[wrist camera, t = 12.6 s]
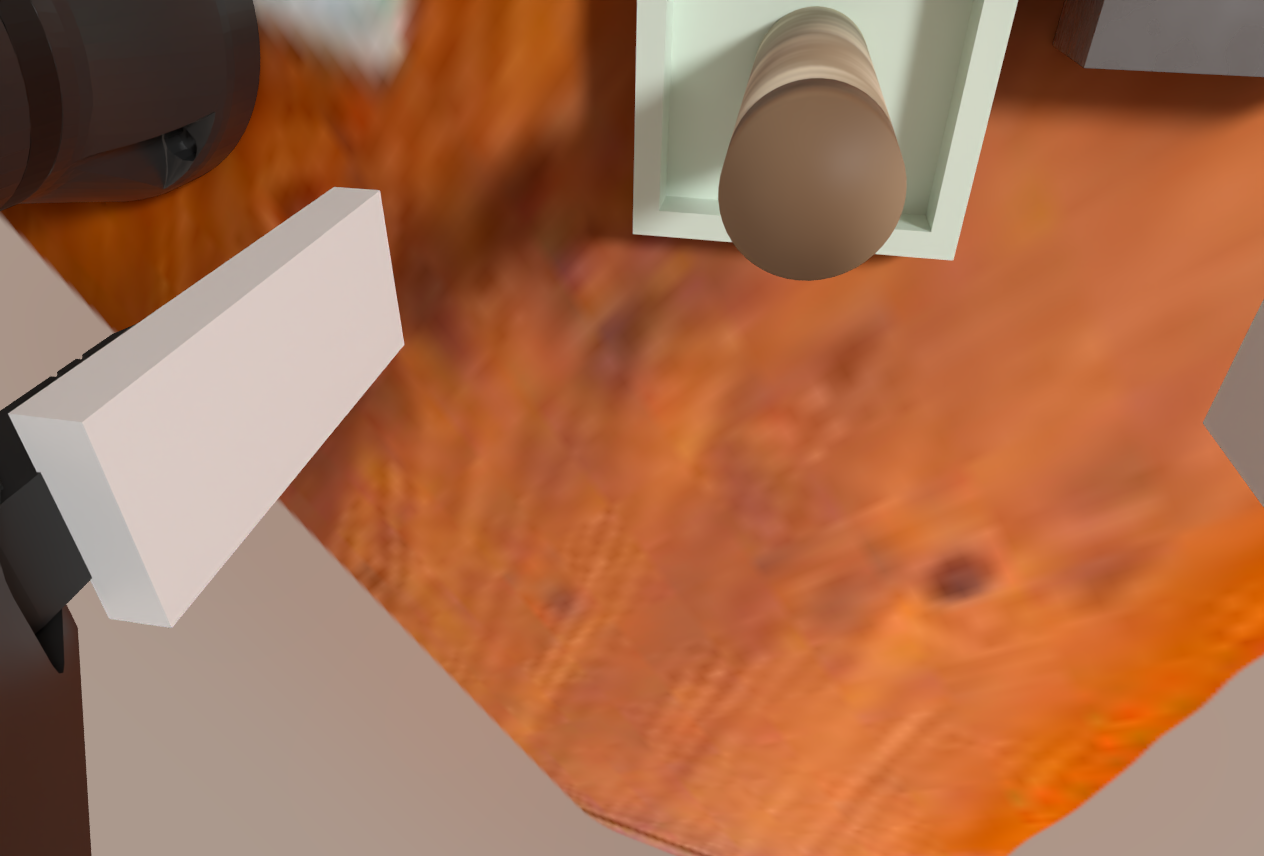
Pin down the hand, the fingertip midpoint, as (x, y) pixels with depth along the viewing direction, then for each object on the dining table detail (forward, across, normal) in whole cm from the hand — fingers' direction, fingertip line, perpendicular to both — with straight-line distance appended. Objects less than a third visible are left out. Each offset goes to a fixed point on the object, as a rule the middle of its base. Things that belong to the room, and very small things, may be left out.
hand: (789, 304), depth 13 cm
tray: (+21, +1, 0) cm, 21 cm away
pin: (+20, +1, 0) cm, 20 cm away
